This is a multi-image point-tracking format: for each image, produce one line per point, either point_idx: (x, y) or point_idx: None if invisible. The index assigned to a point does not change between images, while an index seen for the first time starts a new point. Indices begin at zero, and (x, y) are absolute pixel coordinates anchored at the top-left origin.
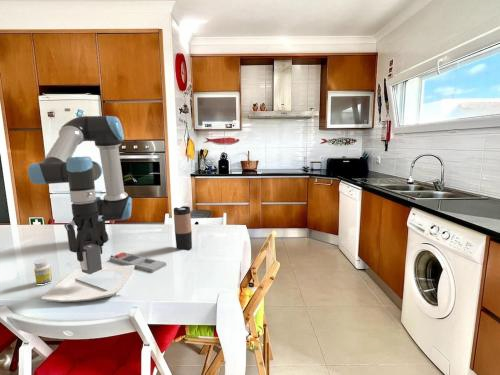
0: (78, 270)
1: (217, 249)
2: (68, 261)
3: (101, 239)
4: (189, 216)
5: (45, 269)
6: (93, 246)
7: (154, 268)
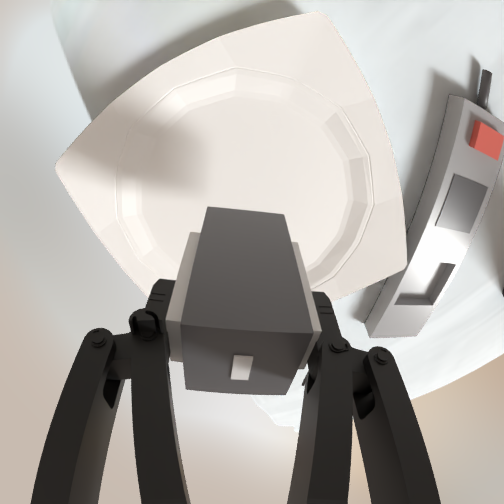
0: (311, 31)
1: (488, 343)
2: None
3: (367, 380)
4: None
5: None
6: (253, 384)
7: (376, 337)
